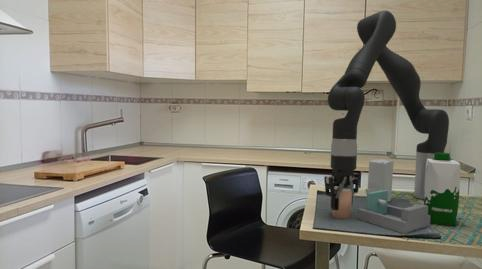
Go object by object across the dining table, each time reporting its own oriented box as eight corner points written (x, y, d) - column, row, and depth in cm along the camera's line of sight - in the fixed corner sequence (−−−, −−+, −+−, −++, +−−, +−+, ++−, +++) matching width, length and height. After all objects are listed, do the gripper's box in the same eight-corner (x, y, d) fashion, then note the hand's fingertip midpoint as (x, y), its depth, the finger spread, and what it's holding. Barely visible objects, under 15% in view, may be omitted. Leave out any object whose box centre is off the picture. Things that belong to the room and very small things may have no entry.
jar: (340, 212, 112) (341, 185, 112) (354, 216, 108) (356, 188, 107) (328, 214, 109) (329, 187, 109) (342, 219, 105) (343, 191, 104)
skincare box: (375, 198, 132) (377, 158, 131) (392, 201, 128) (394, 160, 127) (366, 201, 126) (367, 160, 125) (383, 205, 122) (385, 162, 121)
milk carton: (453, 218, 108) (457, 153, 106) (459, 227, 99) (464, 156, 98) (421, 215, 111) (424, 151, 109) (424, 223, 102) (428, 154, 101)
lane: (382, 212, 113) (383, 194, 112) (430, 226, 100) (431, 205, 100) (357, 218, 106) (358, 199, 105) (404, 233, 93) (405, 211, 93)
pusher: (383, 212, 110) (384, 189, 110) (392, 214, 108) (393, 191, 107) (365, 216, 106) (366, 193, 105) (375, 219, 103) (376, 195, 102)
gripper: (349, 151, 114) (347, 202, 115) (317, 153, 106) (315, 208, 107) (369, 153, 108) (367, 208, 109) (337, 156, 100) (335, 215, 101)
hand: (341, 208), depth 108 cm, fingers closed on jar, 5 cm apart
